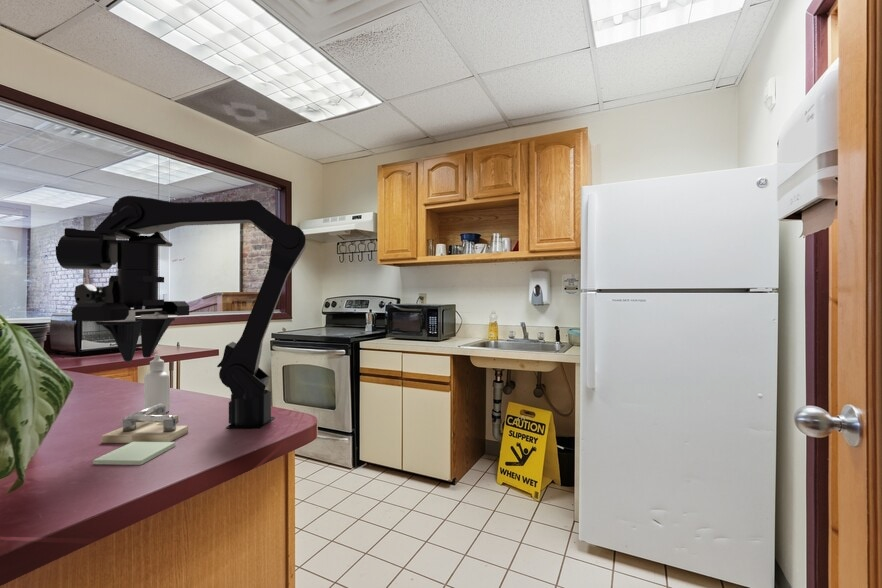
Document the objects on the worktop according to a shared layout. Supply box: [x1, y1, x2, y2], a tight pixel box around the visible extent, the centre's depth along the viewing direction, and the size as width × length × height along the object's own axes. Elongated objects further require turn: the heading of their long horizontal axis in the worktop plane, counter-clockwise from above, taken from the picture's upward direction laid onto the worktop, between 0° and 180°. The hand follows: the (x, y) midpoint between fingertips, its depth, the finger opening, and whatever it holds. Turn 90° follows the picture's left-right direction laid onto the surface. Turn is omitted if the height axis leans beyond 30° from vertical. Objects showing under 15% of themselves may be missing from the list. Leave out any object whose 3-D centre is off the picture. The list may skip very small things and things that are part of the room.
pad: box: [93, 441, 176, 466], centre depth 59 cm, size 7×7×1 cm
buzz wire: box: [101, 404, 189, 444], centre depth 69 cm, size 11×11×4 cm
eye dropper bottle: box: [143, 353, 171, 415], centre depth 81 cm, size 4×6×12 cm
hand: (137, 359), depth 68 cm, fingers open, 4 cm apart
